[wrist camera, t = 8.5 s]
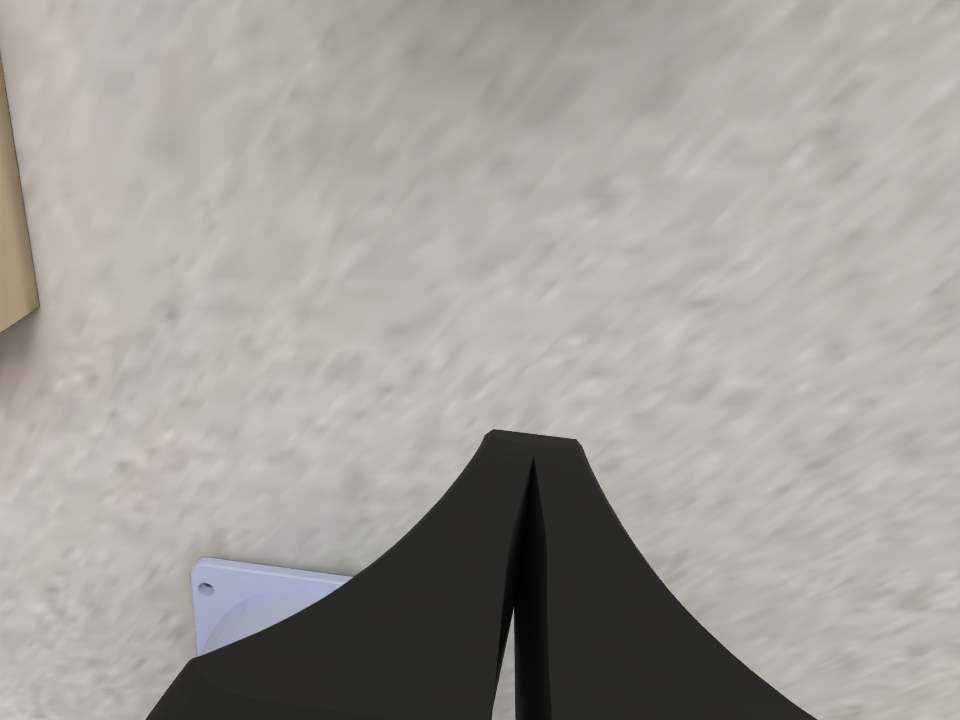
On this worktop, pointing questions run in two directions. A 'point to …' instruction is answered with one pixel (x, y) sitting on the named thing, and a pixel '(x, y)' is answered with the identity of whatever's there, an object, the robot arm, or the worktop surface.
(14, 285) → the mailer box
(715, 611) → the worktop surface
